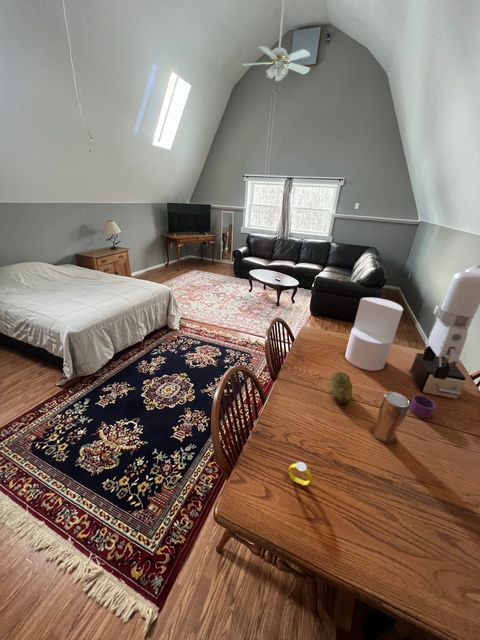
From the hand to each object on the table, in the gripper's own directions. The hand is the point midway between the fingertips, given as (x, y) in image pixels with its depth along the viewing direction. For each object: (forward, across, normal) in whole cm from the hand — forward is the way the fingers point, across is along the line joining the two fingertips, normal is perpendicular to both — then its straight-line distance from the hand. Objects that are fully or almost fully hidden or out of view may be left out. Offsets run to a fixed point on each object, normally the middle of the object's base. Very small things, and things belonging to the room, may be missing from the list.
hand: (432, 368), depth 81 cm
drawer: (+22, +23, -16) cm, 36 cm away
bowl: (+23, +8, -6) cm, 25 cm away
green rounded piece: (+23, +7, +22) cm, 33 cm away
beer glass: (+23, -8, +10) cm, 26 cm away
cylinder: (+23, +38, +10) cm, 45 cm away
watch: (+23, -32, +34) cm, 52 cm away
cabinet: (+23, +28, -16) cm, 39 cm away
